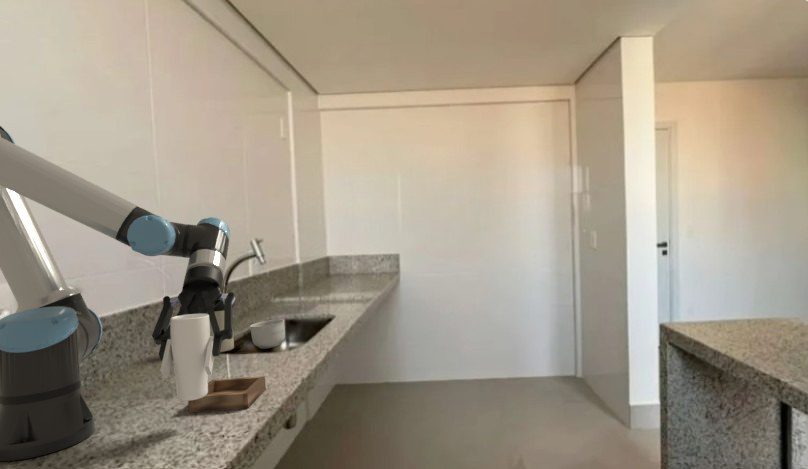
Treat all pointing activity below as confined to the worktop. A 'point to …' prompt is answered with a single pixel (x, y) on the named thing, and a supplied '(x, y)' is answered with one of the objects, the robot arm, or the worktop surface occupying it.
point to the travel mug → (222, 327)
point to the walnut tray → (229, 394)
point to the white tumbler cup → (190, 354)
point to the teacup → (268, 333)
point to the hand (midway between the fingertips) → (186, 372)
